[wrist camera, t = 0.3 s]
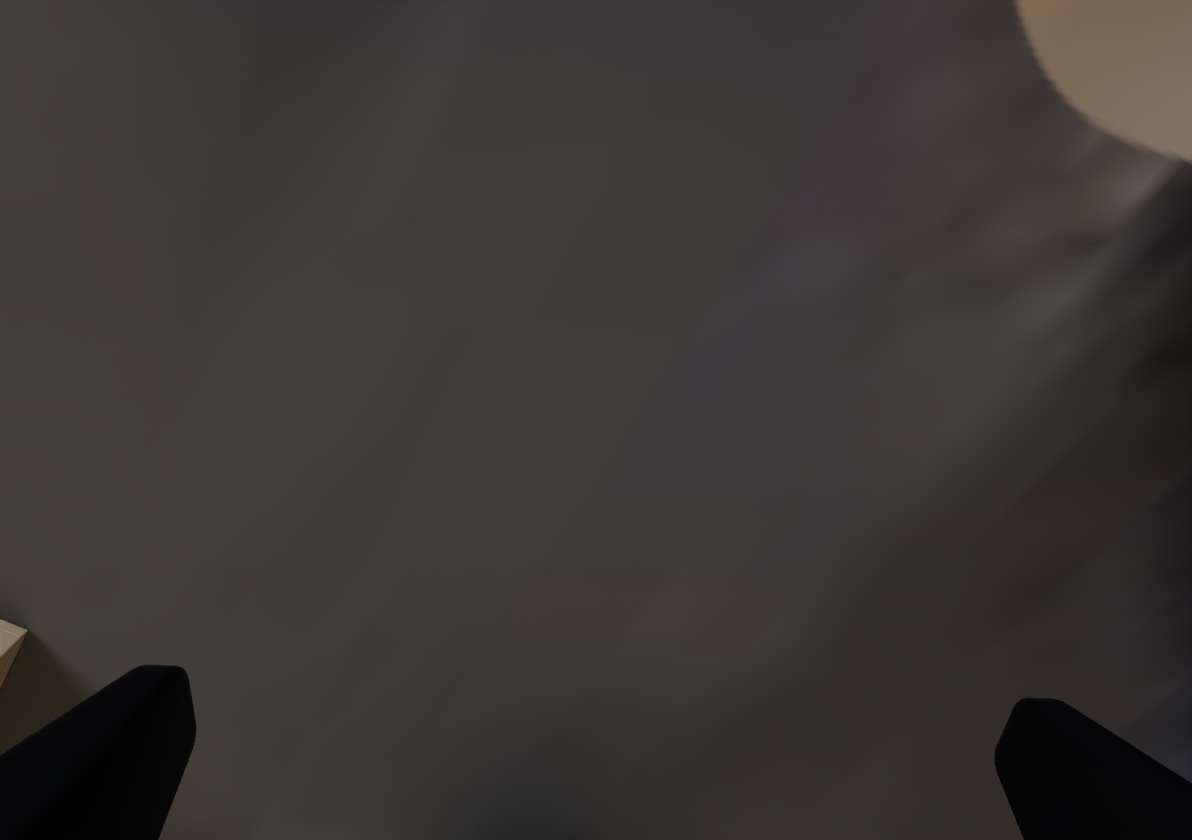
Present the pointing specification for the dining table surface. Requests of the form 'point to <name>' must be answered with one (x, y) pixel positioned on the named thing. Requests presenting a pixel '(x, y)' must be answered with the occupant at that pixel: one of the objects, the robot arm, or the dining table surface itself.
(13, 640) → the tray
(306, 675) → the dining table surface
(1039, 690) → the dining table surface
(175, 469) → the dining table surface
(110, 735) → the robot arm
